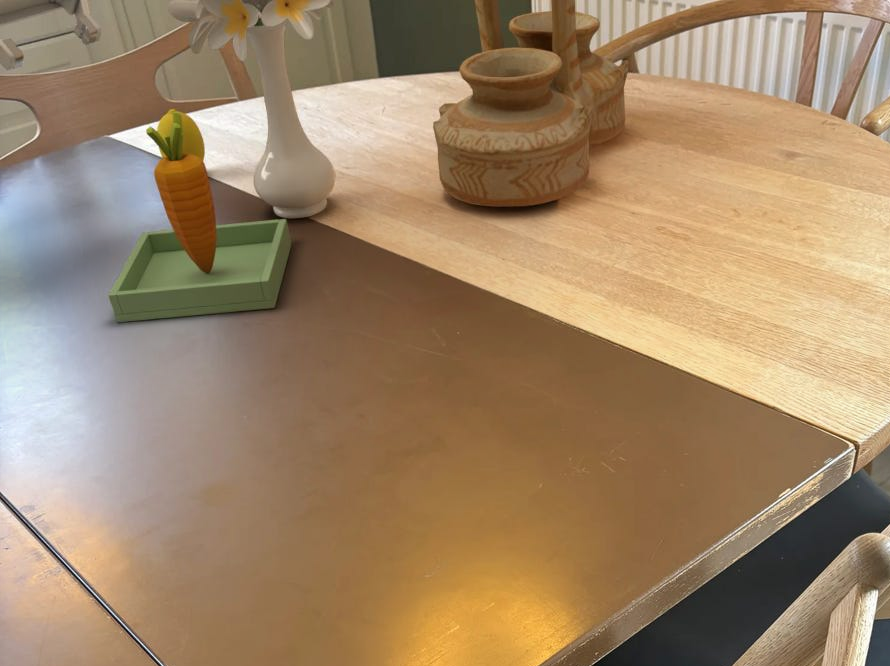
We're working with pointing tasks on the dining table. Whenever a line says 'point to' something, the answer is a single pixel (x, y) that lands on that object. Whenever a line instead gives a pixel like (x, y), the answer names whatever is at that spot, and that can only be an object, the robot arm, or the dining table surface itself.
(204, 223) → the carrot
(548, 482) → the dining table surface
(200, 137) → the lemon
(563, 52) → the ceramic vessel
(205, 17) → the flower vase
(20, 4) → the robot arm
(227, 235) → the green tray
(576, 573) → the dining table surface
